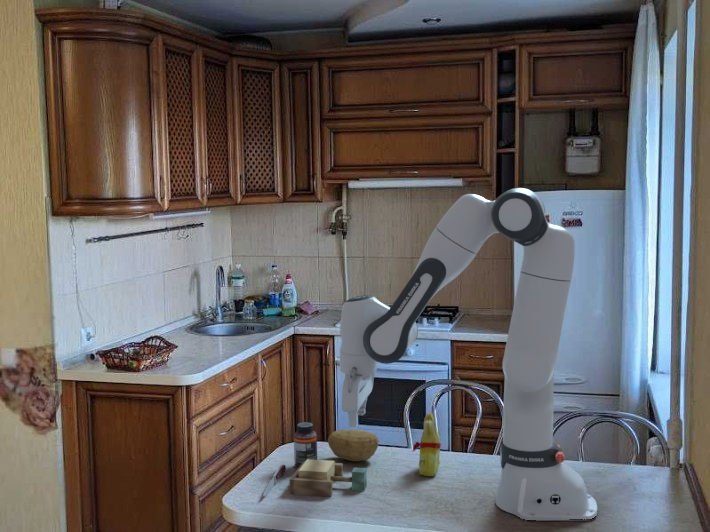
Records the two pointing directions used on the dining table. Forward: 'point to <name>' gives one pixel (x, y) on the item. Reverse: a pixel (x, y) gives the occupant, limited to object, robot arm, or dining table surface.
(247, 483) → the dining table surface
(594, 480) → the dining table surface
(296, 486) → the tan piece
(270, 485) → the knife
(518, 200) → the robot arm
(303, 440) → the supplement bottle
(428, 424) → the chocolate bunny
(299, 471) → the oak block with dowel handle
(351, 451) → the potato
